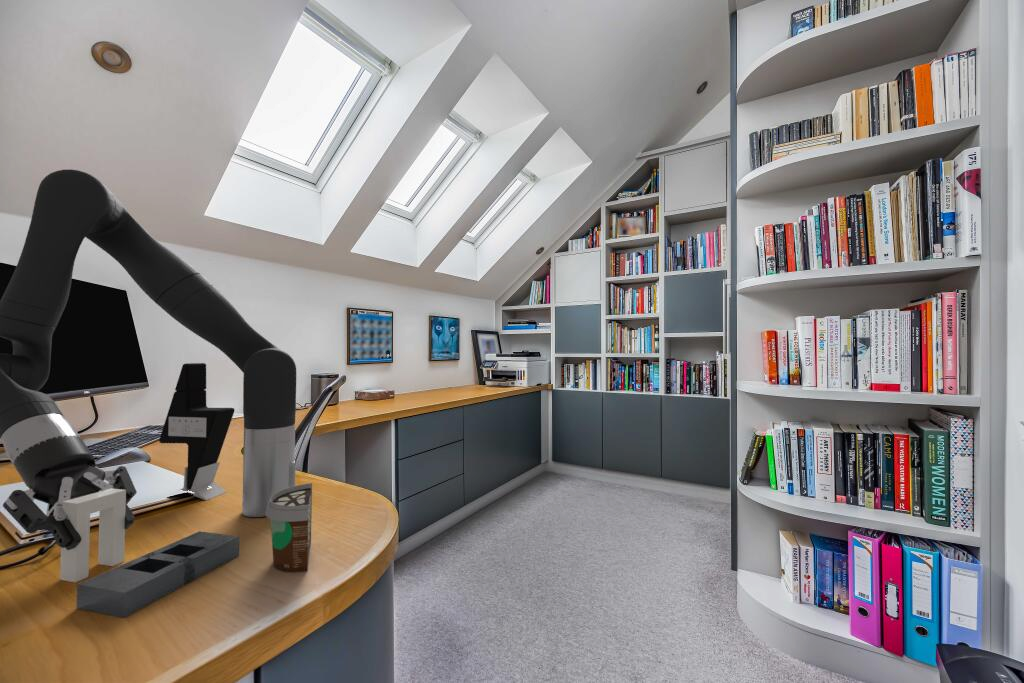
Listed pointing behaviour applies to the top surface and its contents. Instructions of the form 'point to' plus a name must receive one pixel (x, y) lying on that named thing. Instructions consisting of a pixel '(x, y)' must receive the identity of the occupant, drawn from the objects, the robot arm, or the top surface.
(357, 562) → the top surface
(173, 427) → the award
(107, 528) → the grey arch-shaped block
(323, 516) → the top surface
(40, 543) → the top surface
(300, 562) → the food container
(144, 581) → the grey slotted base block
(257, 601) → the top surface
